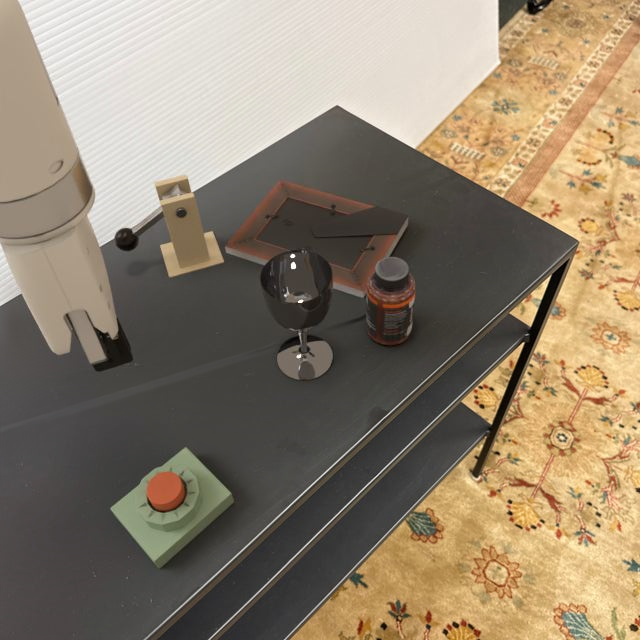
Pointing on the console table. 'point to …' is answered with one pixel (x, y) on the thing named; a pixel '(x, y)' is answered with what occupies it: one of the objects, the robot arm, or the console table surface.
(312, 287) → the wine glass
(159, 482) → the button
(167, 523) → the button box
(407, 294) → the supplement bottle
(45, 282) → the robot arm
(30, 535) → the console table surface
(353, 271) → the picture frame
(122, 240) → the lever
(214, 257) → the toaster bracket
